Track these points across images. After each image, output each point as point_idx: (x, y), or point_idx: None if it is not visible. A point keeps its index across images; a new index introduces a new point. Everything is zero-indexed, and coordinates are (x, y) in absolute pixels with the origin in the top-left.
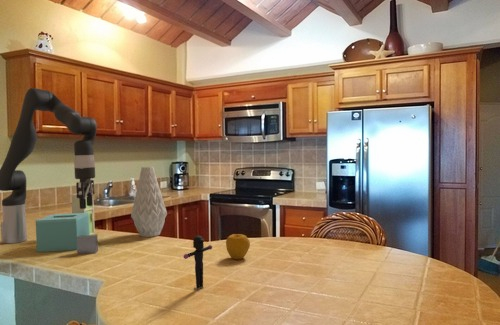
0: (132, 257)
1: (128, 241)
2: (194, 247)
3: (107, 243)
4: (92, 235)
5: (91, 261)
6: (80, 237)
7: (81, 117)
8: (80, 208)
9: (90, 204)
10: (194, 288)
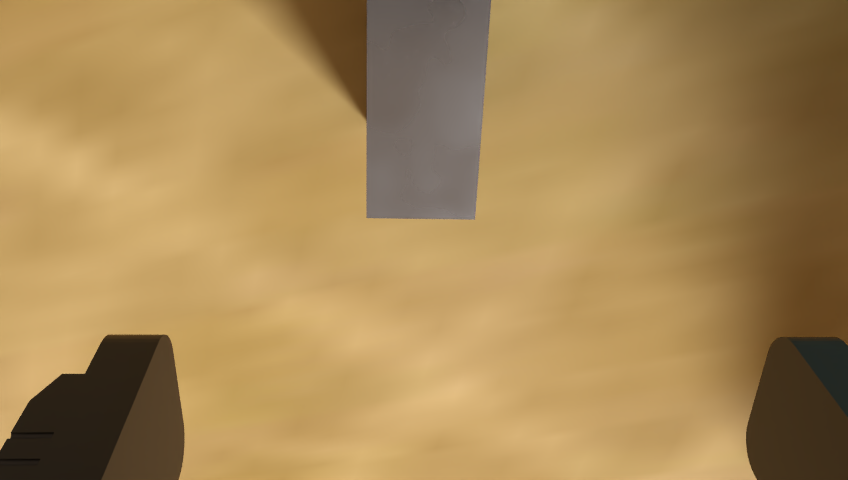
0: None
1: (813, 336)
2: None
3: (830, 140)
4: (400, 177)
5: (26, 174)
6: (368, 9)
7: None
8: (109, 343)
9: (763, 435)
10: None
